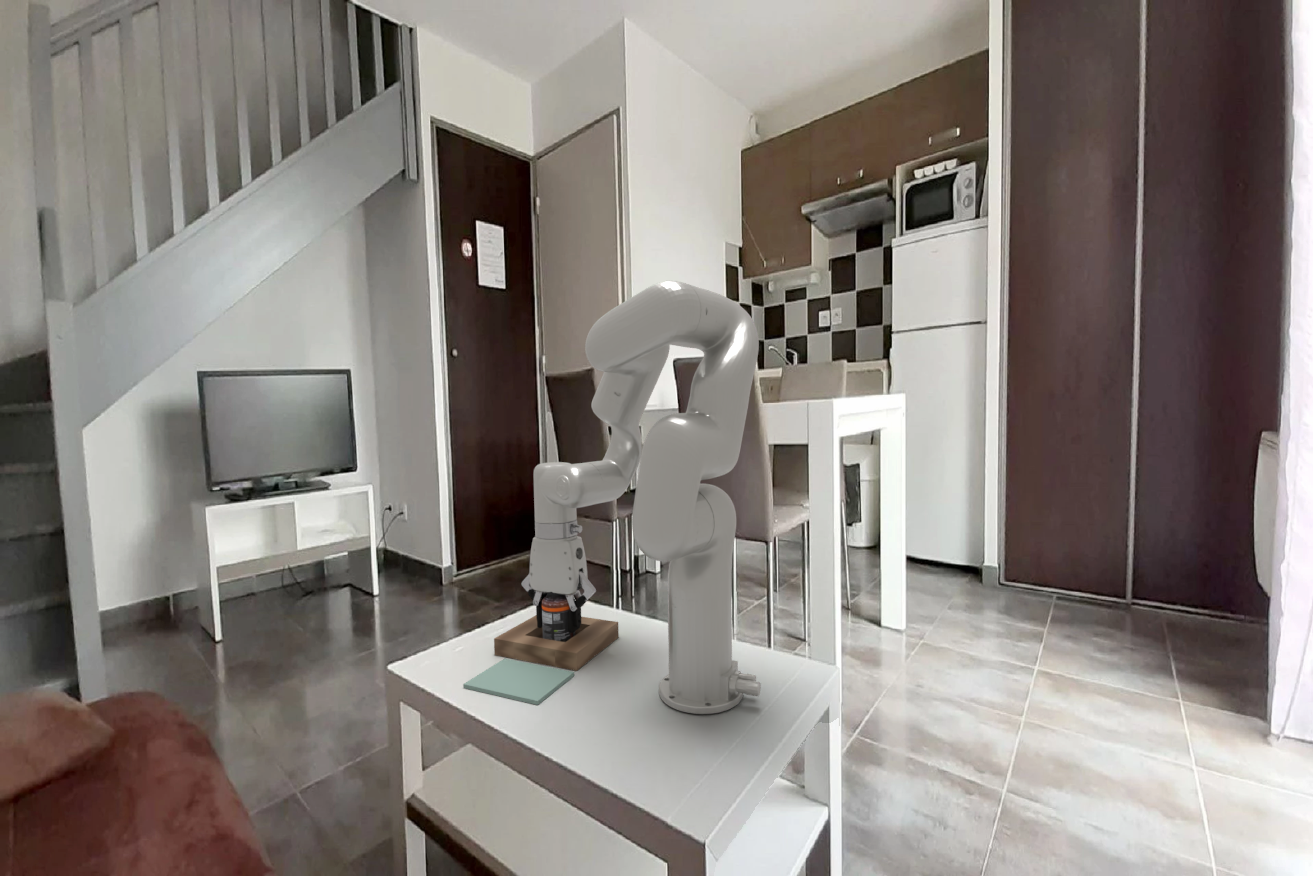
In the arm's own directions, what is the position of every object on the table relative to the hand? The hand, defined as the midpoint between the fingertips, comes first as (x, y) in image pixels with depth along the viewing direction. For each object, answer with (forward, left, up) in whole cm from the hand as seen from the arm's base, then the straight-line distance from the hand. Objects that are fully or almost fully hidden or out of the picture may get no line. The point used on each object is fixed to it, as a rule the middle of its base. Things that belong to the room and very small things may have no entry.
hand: (558, 626), depth 102 cm
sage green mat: (-2, +14, -4) cm, 15 cm away
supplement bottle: (0, 0, -4) cm, 4 cm away
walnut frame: (0, 0, -4) cm, 4 cm away
